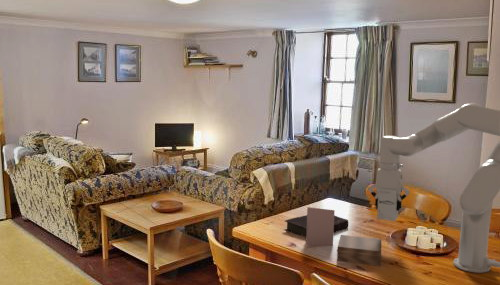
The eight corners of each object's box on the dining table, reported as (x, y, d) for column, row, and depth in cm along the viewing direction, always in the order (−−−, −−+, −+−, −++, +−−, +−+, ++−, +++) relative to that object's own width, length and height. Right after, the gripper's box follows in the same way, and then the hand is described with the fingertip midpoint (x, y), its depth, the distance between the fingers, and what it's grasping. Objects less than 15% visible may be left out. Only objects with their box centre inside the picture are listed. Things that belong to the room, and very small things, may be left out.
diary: (348, 229, 221) (349, 219, 220) (314, 242, 204) (315, 231, 203) (317, 219, 234) (317, 210, 234) (282, 230, 217) (282, 220, 217)
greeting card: (333, 244, 200) (334, 209, 197) (330, 250, 193) (331, 214, 191) (306, 240, 203) (307, 206, 201) (302, 246, 197) (303, 211, 194)
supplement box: (376, 219, 194) (377, 188, 192) (380, 214, 200) (381, 185, 199) (395, 221, 190) (396, 190, 189) (398, 217, 197) (399, 187, 195)
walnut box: (380, 253, 192) (381, 239, 191) (380, 266, 178) (381, 251, 177) (339, 248, 196) (340, 234, 195) (336, 261, 182) (336, 246, 182)
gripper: (413, 166, 192) (411, 209, 194) (369, 163, 199) (368, 204, 202) (410, 169, 185) (409, 213, 188) (365, 166, 193) (364, 208, 195)
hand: (388, 208), depth 195 cm, fingers closed on supplement box, 7 cm apart
